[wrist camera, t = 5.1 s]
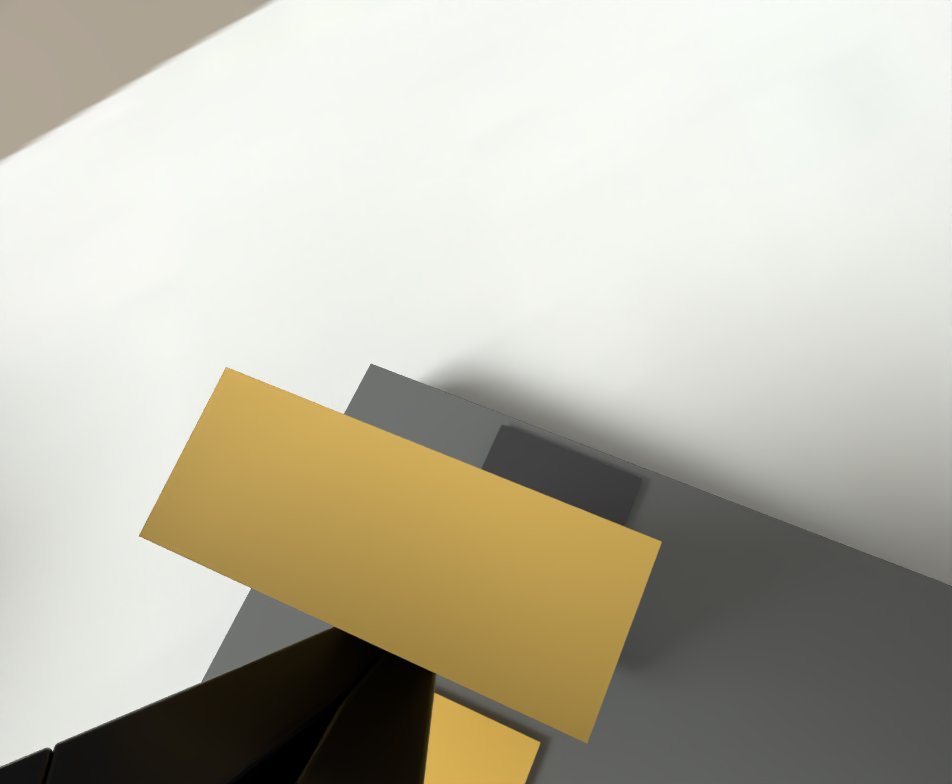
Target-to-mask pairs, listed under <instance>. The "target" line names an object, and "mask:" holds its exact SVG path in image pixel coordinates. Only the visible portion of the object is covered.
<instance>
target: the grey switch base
mask: <svg viewBox="0 0 952 784" xmlns="http://www.w3.org/2000/svg"><path fill="white" fill-rule="evenodd" d="M344 415H347V416H349V417H352V418H354V419H357V420H359V421H362V422H364V423H367V424H369V425H372V426H374V427H377V428H379V429H382V430H384V431H387V432H389V433H392V434H394V435H397V436H399V437H402V438H404V439H407V440H409V441H412V442H414V443H417V444H419V445H422V446H424V447H427V448H429V449H432V450H434V451H437V452H439V453H442V454H444V455H447V456H449V457H452V458H454V459H457V460H459V461H462V462H464V463H467V464H469V465H472V466H474V467H477V468H479V469H482V470H484V471H487V472H489V473H492V474H494V475H497V476H499V477H502V478H504V479H507V480H509V481H512V482H514V483H517V484H519V485H522V486H524V487H527V488H529V489H532V490H534V491H537V492H539V493H542V494H544V495H547V496H549V497H552V498H554V499H557V500H559V501H562V502H564V503H567V504H569V505H572V506H574V507H577V508H579V509H582V510H584V511H587V512H589V513H592V514H594V515H597V516H599V517H602V518H604V519H607V520H609V521H612V522H614V523H617V524H619V525H622V526H624V527H627V528H629V529H632V530H634V531H637V532H639V533H641V534H644V535H646V536H649V537H651V538H654V539H656V540H659V541H661V542H662V543H661V546H660V548H659V551H658V554H657V557H656V559H655V562H654V565H653V567H652V570H651V573H650V575H649V578H648V581H647V584H646V586H645V589H644V592H643V594H642V597H641V600H640V602H639V605H638V608H637V611H636V613H635V616H634V619H633V621H632V624H631V627H630V629H629V632H628V635H627V638H626V640H625V643H624V646H623V648H622V651H621V654H620V656H619V659H618V662H617V665H616V667H615V670H614V673H613V675H612V678H611V681H610V683H609V686H608V689H607V692H606V694H605V697H604V700H603V702H602V705H601V708H600V710H599V713H598V716H597V719H596V721H595V724H594V727H593V729H592V732H591V735H590V737H589V740H588V743H585V742H583V741H581V740H578V739H576V738H574V737H572V736H570V735H568V734H565V733H563V732H561V731H559V730H557V729H555V728H553V727H550V726H548V725H546V724H544V723H542V722H540V721H537V720H535V719H533V718H531V717H529V716H527V715H524V714H522V713H520V712H518V711H516V710H514V709H511V708H509V707H507V706H505V705H503V704H501V703H499V702H496V701H494V700H492V699H490V698H488V697H486V696H483V695H481V694H479V693H477V692H475V691H473V690H470V689H468V688H466V687H464V686H462V685H460V684H457V683H455V682H453V681H451V680H449V679H447V678H445V677H442V676H440V675H438V674H437V675H436V683H435V692H434V701H433V709H432V718H431V727H430V735H429V744H428V752H427V761H426V770H425V778H424V784H952V586H950V585H948V584H945V583H942V582H940V581H937V580H935V579H932V578H929V577H927V576H924V575H922V574H919V573H916V572H914V571H911V570H908V569H906V568H903V567H901V566H898V565H895V564H893V563H890V562H888V561H885V560H882V559H880V558H877V557H875V556H872V555H869V554H867V553H864V552H862V551H859V550H856V549H854V548H851V547H848V546H846V545H843V544H841V543H838V542H835V541H833V540H830V539H828V538H825V537H822V536H820V535H817V534H815V533H812V532H809V531H807V530H804V529H801V528H799V527H796V526H794V525H791V524H788V523H786V522H783V521H781V520H778V519H775V518H773V517H770V516H768V515H765V514H762V513H760V512H757V511H754V510H752V509H749V508H747V507H744V506H741V505H739V504H736V503H734V502H731V501H728V500H726V499H723V498H721V497H718V496H715V495H713V494H710V493H707V492H705V491H702V490H700V489H697V488H694V487H692V486H689V485H687V484H684V483H681V482H679V481H676V480H674V479H671V478H668V477H666V476H663V475H660V474H658V473H655V472H653V471H650V470H647V469H645V468H642V467H640V466H637V465H634V464H632V463H629V462H627V461H624V460H621V459H619V458H616V457H613V456H611V455H608V454H606V453H603V452H600V451H598V450H595V449H593V448H590V447H587V446H585V445H582V444H580V443H577V442H574V441H572V440H569V439H566V438H564V437H561V436H559V435H556V434H553V433H551V432H548V431H546V430H543V429H540V428H538V427H535V426H533V425H530V424H527V423H525V422H522V421H520V420H517V419H514V418H512V417H509V416H506V415H504V414H501V413H499V412H496V411H493V410H491V409H488V408H486V407H483V406H480V405H478V404H475V403H473V402H470V401H467V400H465V399H462V398H459V397H457V396H454V395H452V394H449V393H446V392H444V391H441V390H439V389H436V388H433V387H431V386H428V385H426V384H423V383H420V382H418V381H415V380H412V379H410V378H407V377H405V376H402V375H399V374H397V373H394V372H392V371H389V370H386V369H384V368H381V367H379V366H376V365H373V364H370V366H369V368H368V370H367V372H366V374H365V376H364V378H363V379H362V381H361V383H360V385H359V387H358V389H357V391H356V393H355V394H354V396H353V398H352V400H351V402H350V404H349V406H348V408H347V409H346V411H345V413H344ZM332 627H334V626H332V625H330V624H328V623H326V622H324V621H321V620H319V619H317V618H315V617H313V616H311V615H308V614H306V613H304V612H302V611H300V610H298V609H296V608H293V607H291V606H289V605H287V604H285V603H283V602H280V601H278V600H276V599H274V598H272V597H270V596H267V595H265V594H263V593H261V592H259V591H257V590H254V589H252V588H251V590H250V592H249V594H248V595H247V597H246V599H245V601H244V603H243V605H242V607H241V609H240V611H239V612H238V614H237V616H236V618H235V620H234V622H233V624H232V626H231V627H230V629H229V631H228V633H227V635H226V637H225V639H224V641H223V642H222V644H221V646H220V648H219V650H218V652H217V654H216V656H215V657H214V659H213V661H212V663H211V665H210V667H209V669H208V671H207V673H206V674H205V676H204V678H203V680H202V682H204V681H206V680H208V679H211V678H213V677H215V676H218V675H220V674H223V673H225V672H227V671H230V670H232V669H234V668H237V667H239V666H242V665H244V664H246V663H249V662H251V661H253V660H256V659H258V658H260V657H263V656H265V655H268V654H270V653H272V652H275V651H277V650H279V649H282V648H284V647H287V646H289V645H291V644H294V643H296V642H298V641H301V640H303V639H305V638H308V637H310V636H313V635H315V634H317V633H320V632H322V631H324V630H327V629H329V628H332Z"/></svg>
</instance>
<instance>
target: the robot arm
mask: <svg viewBox="0 0 952 784" xmlns="http://www.w3.org/2000/svg"><path fill="white" fill-rule="evenodd" d="M436 675H437V674H436V673H434V672H432V671H429V670H427V669H425V668H423V667H421V666H419V665H416V664H414V663H412V662H410V661H408V660H406V659H403V658H401V657H399V656H397V655H395V654H393V653H391V652H388V651H386V650H384V649H382V648H380V647H378V646H375V645H373V644H371V643H369V642H367V641H365V640H362V639H360V638H358V637H356V636H354V635H352V634H349V633H347V632H345V631H343V630H341V629H339V628H337V627H332V628H329V629H327V630H324V631H322V632H320V633H317V634H315V635H313V636H310V637H308V638H305V639H303V640H301V641H298V642H296V643H294V644H291V645H289V646H287V647H284V648H282V649H279V650H277V651H275V652H272V653H270V654H268V655H265V656H263V657H260V658H258V659H256V660H253V661H251V662H249V663H246V664H244V665H242V666H239V667H237V668H234V669H232V670H230V671H227V672H225V673H223V674H220V675H218V676H215V677H213V678H211V679H208V680H206V681H204V682H201V683H199V684H197V685H194V686H192V687H189V688H187V689H185V690H182V691H180V692H178V693H175V694H173V695H170V696H168V697H166V698H163V699H161V700H159V701H156V702H154V703H152V704H149V705H147V706H144V707H142V708H140V709H137V710H135V711H133V712H130V713H128V714H125V715H123V716H121V717H118V718H116V719H114V720H111V721H109V722H107V723H104V724H102V725H99V726H97V727H95V728H92V729H90V730H88V731H85V732H83V733H80V734H78V735H76V736H73V737H71V738H69V739H66V740H64V741H62V742H59V743H57V744H56V745H55V747H54V750H53V751H52V750H51V749H50V748H44V749H42V750H39V751H37V752H35V753H32V754H30V755H28V756H25V757H23V758H20V759H18V760H16V761H13V762H11V763H9V764H6V765H4V766H1V767H0V784H424V778H425V770H426V761H427V752H428V744H429V735H430V727H431V718H432V709H433V701H434V692H435V683H436Z"/></svg>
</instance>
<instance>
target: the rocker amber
mask: <svg viewBox="0 0 952 784" xmlns="http://www.w3.org/2000/svg"><path fill="white" fill-rule="evenodd" d="M139 536H140V537H142V538H144V539H146V540H149V541H151V542H153V543H155V544H157V545H159V546H162V547H164V548H166V549H168V550H170V551H172V552H175V553H177V554H179V555H181V556H183V557H185V558H188V559H190V560H192V561H194V562H196V563H198V564H200V565H203V566H205V567H207V568H209V569H211V570H213V571H216V572H218V573H220V574H222V575H224V576H226V577H229V578H231V579H233V580H235V581H237V582H239V583H242V584H244V585H246V586H248V587H250V588H252V589H254V590H257V591H259V592H261V593H263V594H265V595H267V596H270V597H272V598H274V599H276V600H278V601H280V602H283V603H285V604H287V605H289V606H291V607H293V608H296V609H298V610H300V611H302V612H304V613H306V614H308V615H311V616H313V617H315V618H317V619H319V620H321V621H324V622H326V623H328V624H330V625H332V626H334V627H337V628H339V629H341V630H343V631H345V632H347V633H349V634H352V635H354V636H356V637H358V638H360V639H362V640H365V641H367V642H369V643H371V644H373V645H375V646H378V647H380V648H382V649H384V650H386V651H388V652H391V653H393V654H395V655H397V656H399V657H401V658H403V659H406V660H408V661H410V662H412V663H414V664H416V665H419V666H421V667H423V668H425V669H427V670H429V671H432V672H434V673H436V674H438V675H440V676H442V677H445V678H447V679H449V680H451V681H453V682H455V683H457V684H460V685H462V686H464V687H466V688H468V689H470V690H473V691H475V692H477V693H479V694H481V695H483V696H486V697H488V698H490V699H492V700H494V701H496V702H499V703H501V704H503V705H505V706H507V707H509V708H511V709H514V710H516V711H518V712H520V713H522V714H524V715H527V716H529V717H531V718H533V719H535V720H537V721H540V722H542V723H544V724H546V725H548V726H550V727H553V728H555V729H557V730H559V731H561V732H563V733H565V734H568V735H570V736H572V737H574V738H576V739H578V740H581V741H583V742H585V743H588V740H589V737H590V735H591V732H592V729H593V727H594V724H595V721H596V719H597V716H598V713H599V710H600V708H601V705H602V702H603V700H604V697H605V694H606V692H607V689H608V686H609V683H610V681H611V678H612V675H613V673H614V670H615V667H616V665H617V662H618V659H619V656H620V654H621V651H622V648H623V646H624V643H625V640H626V638H627V635H628V632H629V629H630V627H631V624H632V621H633V619H634V616H635V613H636V611H637V608H638V605H639V602H640V600H641V597H642V594H643V592H644V589H645V586H646V584H647V581H648V578H649V575H650V573H651V570H652V567H653V565H654V562H655V559H656V557H657V554H658V551H659V548H660V546H661V543H662V542H661V541H659V540H656V539H654V538H651V537H649V536H646V535H644V534H641V533H639V532H637V531H634V530H632V529H629V528H627V527H624V526H622V525H619V524H617V523H614V522H612V521H609V520H607V519H604V518H602V517H599V516H597V515H594V514H592V513H589V512H587V511H584V510H582V509H579V508H577V507H574V506H572V505H569V504H567V503H564V502H562V501H559V500H557V499H554V498H552V497H549V496H547V495H544V494H542V493H539V492H537V491H534V490H532V489H529V488H527V487H524V486H522V485H519V484H517V483H514V482H512V481H509V480H507V479H504V478H502V477H499V476H497V475H494V474H492V473H489V472H487V471H484V470H482V469H479V468H477V467H474V466H472V465H469V464H467V463H464V462H462V461H459V460H457V459H454V458H452V457H449V456H447V455H444V454H442V453H439V452H437V451H434V450H432V449H429V448H427V447H424V446H422V445H419V444H417V443H414V442H412V441H409V440H407V439H404V438H402V437H399V436H397V435H394V434H392V433H389V432H387V431H384V430H382V429H379V428H377V427H374V426H372V425H369V424H367V423H364V422H362V421H359V420H357V419H354V418H352V417H349V416H347V415H344V414H342V413H339V412H337V411H334V410H332V409H329V408H327V407H324V406H322V405H319V404H317V403H315V402H312V401H310V400H307V399H305V398H302V397H300V396H297V395H295V394H292V393H290V392H287V391H285V390H282V389H280V388H277V387H275V386H272V385H270V384H267V383H265V382H262V381H260V380H257V379H255V378H252V377H250V376H247V375H245V374H242V373H240V372H237V371H235V370H232V369H230V368H227V367H226V368H225V370H224V372H223V374H222V376H221V378H220V380H219V382H218V384H217V386H216V388H215V390H214V392H213V393H212V395H211V397H210V399H209V401H208V403H207V405H206V407H205V409H204V411H203V413H202V415H201V417H200V419H199V421H198V422H197V424H196V426H195V428H194V430H193V432H192V434H191V436H190V438H189V440H188V442H187V444H186V446H185V448H184V450H183V452H182V453H181V455H180V457H179V459H178V461H177V463H176V465H175V467H174V469H173V471H172V473H171V475H170V477H169V479H168V481H167V482H166V484H165V486H164V488H163V490H162V492H161V494H160V496H159V498H158V500H157V502H156V504H155V506H154V508H153V510H152V512H151V513H150V515H149V517H148V519H147V521H146V523H145V525H144V527H143V529H142V531H141V533H140V535H139Z"/></svg>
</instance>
